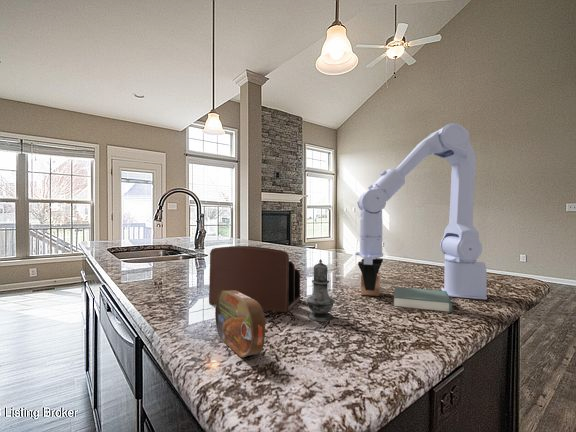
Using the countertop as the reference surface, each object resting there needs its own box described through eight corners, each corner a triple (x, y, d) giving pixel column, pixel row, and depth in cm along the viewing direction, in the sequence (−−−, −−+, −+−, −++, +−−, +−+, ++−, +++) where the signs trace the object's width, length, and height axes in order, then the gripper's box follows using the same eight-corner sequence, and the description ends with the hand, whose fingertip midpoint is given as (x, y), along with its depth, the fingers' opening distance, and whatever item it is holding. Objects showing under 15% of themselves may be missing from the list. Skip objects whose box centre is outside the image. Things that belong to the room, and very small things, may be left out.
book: (446, 301, 77) (446, 290, 77) (451, 313, 67) (452, 301, 67) (394, 296, 81) (394, 286, 81) (393, 307, 72) (393, 296, 72)
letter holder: (287, 313, 67) (287, 248, 67) (208, 304, 73) (208, 244, 73) (300, 301, 76) (300, 243, 76) (229, 294, 83) (229, 241, 82)
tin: (213, 332, 56) (213, 286, 56) (230, 328, 58) (230, 283, 58) (249, 367, 43) (249, 308, 43) (269, 362, 45) (269, 304, 45)
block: (380, 291, 83) (380, 273, 83) (378, 296, 79) (379, 276, 79) (363, 290, 85) (363, 272, 85) (361, 294, 81) (361, 275, 81)
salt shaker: (333, 323, 61) (334, 261, 61) (304, 320, 62) (304, 260, 62) (335, 313, 67) (335, 257, 66) (308, 311, 68) (308, 256, 68)
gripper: (359, 234, 90) (359, 280, 90) (351, 238, 76) (351, 293, 77) (384, 234, 88) (384, 282, 88) (381, 239, 74) (380, 295, 74)
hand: (370, 287), depth 82 cm, fingers closed on block, 4 cm apart
